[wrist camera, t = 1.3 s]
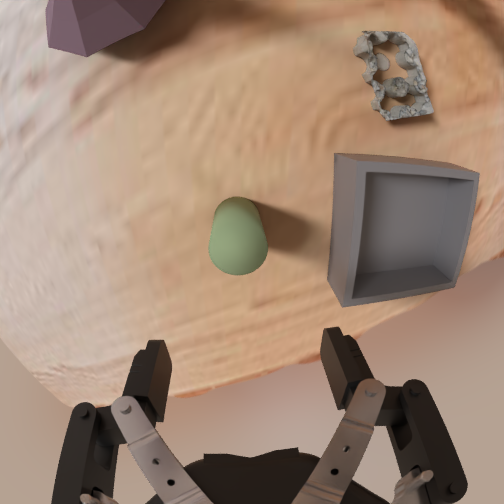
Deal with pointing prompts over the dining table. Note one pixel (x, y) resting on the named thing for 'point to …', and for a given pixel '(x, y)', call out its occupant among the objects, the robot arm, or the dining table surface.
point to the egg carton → (398, 85)
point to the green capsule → (237, 237)
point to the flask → (95, 22)
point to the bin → (397, 226)
